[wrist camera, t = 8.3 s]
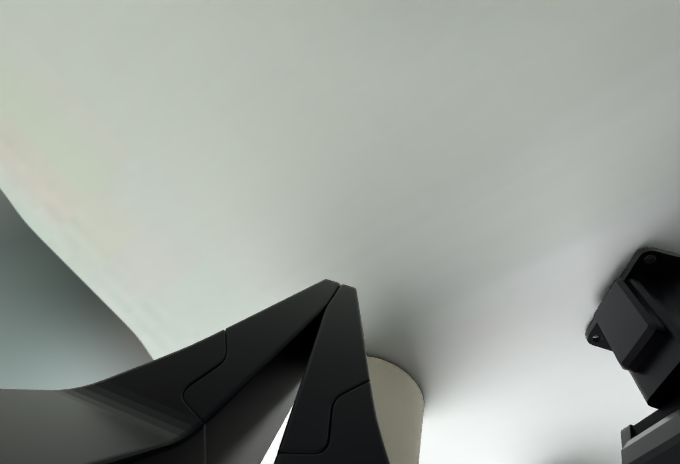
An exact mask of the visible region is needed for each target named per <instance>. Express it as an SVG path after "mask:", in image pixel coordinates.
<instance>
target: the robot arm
mask: <svg viewBox="0 0 680 464" xmlns="http://www.w3.org/2000/svg"><path fill="white" fill-rule="evenodd" d="M648 255H652V258H650V259H649V260H644V258H645V257H646V256H648ZM594 317H595V318H594V320H593V321H592V323H591V324H590V326H589V328H588V329H587V331H586V333H585V336H586V339H587V341H588V342H589V343H590V344H592V345H594V346H597V347H601V348H604V349H607V350H610V351H613V352H614V354H615V356H616V358H617V360H618V362H619V363H620V365H621V367H622V368H623V369H624V370H628V371H629V372H630V374H631V375H632V377H633V379H634V381H635V382H636V384H637V386H638V388H639V390H640V391H641V393H642V395H643V397H644V399H645V400H646V402H647V404H648V405H649V406H651V407H653V408H656V409H658V410H657V411H655V412H654V413H652V414H651V415H649V416H648V417H646V418H645V419H643V420H642V421H640V422H639V423H637V424H636V425H634V426H633V425H629V426H627V427H626V428H624V429H623V430H621V440H622V450H621V454H622V464H680V255H679V254H675V253H671V252H667V251H664V250H660V249H656V248H651V247H646V248H642V249H640V250H638V251H637V252H636V254H635V255H634V257H633V258H632V260H631V262H630V263H629V265H628V266H627V268H626V269H625V271H624V273H623V274H622V276H621V277H620V279H618V280H617V281H615V282H614V283H613V285H612V286H611V288H610V290H609V291H608V293H607V294H606V296H605V298H604V299H603V301H602V302H601V304H600V306H599V307H598V309H597V310H596V312H595V313H594ZM596 335H598V336H599V337H597V338H592V337H594V336H596ZM370 382H371V380H370V374H369V367H368V361H367V354H366V348H365V341H364V335H363V328H362V322H361V315H360V309H359V302H358V296H357V290H356V289H355V288H354V287H350V286H347V285H344V284H342V285H341V286H340V284H339V283H337V282H334V281H331V280H328V279H325V280H323V281H321V282H319V283H317V284H315V285H313V286H311V287H309V288H307V289H305V290H303V291H301V292H299V293H297V294H295V295H293V296H291V297H289V298H287V299H285V300H283V301H281V302H278V303H276V304H274V305H272V306H270V307H268V308H266V309H264V310H262V311H260V312H258V313H256V314H254V315H252V316H250V317H248V318H246V319H244V320H242V321H240V322H238V323H236V324H234V325H232V326H230V327H228V328H226V330H222V331H220V332H218V333H216V334H214V335H212V336H210V337H208V338H205V339H203V340H201V341H199V342H197V343H195V344H193V345H190V346H188V347H186V348H183V349H181V350H179V351H176V352H174V353H171V354H169V355H166V356H164V357H161V358H159V359H156V360H154V361H151V362H149V363H146V364H143V365H141V366H138V367H136V368H133V369H131V370H128V371H125V372H123V373H120V374H117V375H115V376H112V377H110V378H107V379H105V380H102V381H99V382H96V383H93V384H90V385H86V386H83V387H78V388H72V389H64V390H25V389H0V464H260V463H261V461H262V460H263V458H264V456H265V454H266V452H267V451H268V449H269V447H270V445H271V443H272V441H273V440H274V438H275V436H276V434H277V432H278V431H279V429H280V427H281V425H282V423H283V422H284V420H285V418H286V416H287V414H288V412H289V411H290V409H291V407H292V405H293V407H292V410H291V413H290V416H289V419H288V422H287V425H286V428H285V432H284V435H283V438H282V441H281V444H280V447H279V450H278V453H277V457H276V459H275V462H274V464H390V461H389V457H388V454H387V451H386V448H385V444H384V441H383V437H382V433H381V430H380V426H379V422H378V419H377V414H376V408H375V403H374V398H373V392H372V386H371V383H370ZM293 403H294V404H293Z"/></svg>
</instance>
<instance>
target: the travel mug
mask: <svg viewBox="0 0 680 464" xmlns="http://www.w3.org/2000/svg"><path fill="white" fill-rule="evenodd" d="M367 361H368V367H369V374H370V380H371V382H370V383H371V386H372V392H373V398H374V403H375V408H376V414H377V419H378V422H379V426H380V430H381V433H382V437H383V441H384V444H385V448H386V451H387V454H388V457H389V461H390V464H418V463H419V453H420V442H421V432H422V422H423V412H424V399H423V395H422V393H421V390H420V389H419V387H418V385H417V384H416V382H415V381H414V380H413V379H412V378H411V377H410V376H409V375H408V374H407V373H406V372H405V371H403V370H402V369H400V368H399V367H397V366H395V365H394V364H392V363H389V362H387V361H384V360H382V359H378V358H374V357H368V356H367Z"/></svg>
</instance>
